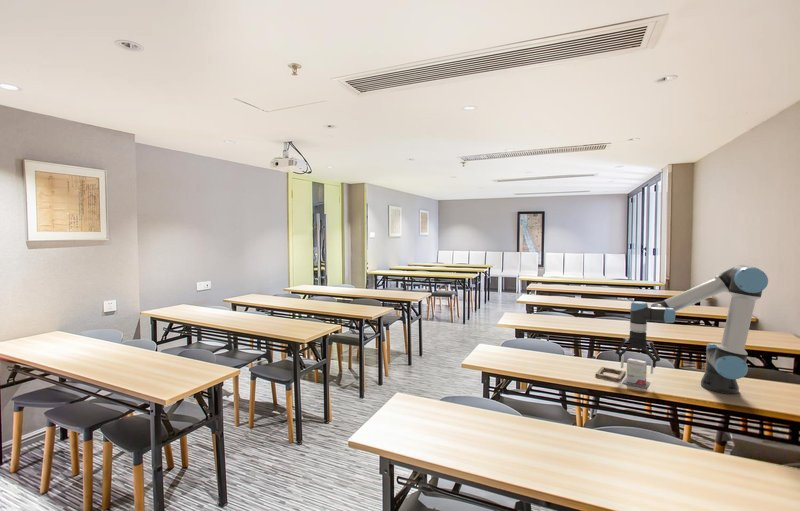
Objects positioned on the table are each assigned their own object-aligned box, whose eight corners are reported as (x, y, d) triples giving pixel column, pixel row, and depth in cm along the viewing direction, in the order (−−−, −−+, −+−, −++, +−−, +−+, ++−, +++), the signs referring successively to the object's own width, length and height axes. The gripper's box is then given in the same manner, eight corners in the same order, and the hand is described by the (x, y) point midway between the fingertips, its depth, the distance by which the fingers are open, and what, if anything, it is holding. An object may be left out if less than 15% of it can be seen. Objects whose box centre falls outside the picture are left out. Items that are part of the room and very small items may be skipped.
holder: (625, 374, 218) (625, 371, 218) (619, 382, 205) (619, 378, 205) (602, 369, 225) (602, 366, 225) (595, 376, 213) (595, 373, 213)
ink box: (646, 383, 203) (647, 361, 202) (644, 385, 199) (645, 363, 199) (628, 379, 209) (628, 357, 208) (626, 381, 205) (626, 359, 204)
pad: (649, 383, 205) (649, 381, 205) (646, 389, 196) (646, 387, 196) (626, 378, 212) (626, 377, 212) (622, 383, 203) (622, 382, 203)
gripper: (667, 333, 198) (665, 373, 198) (613, 326, 214) (611, 363, 215) (665, 336, 192) (664, 377, 193) (610, 328, 208) (608, 366, 209)
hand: (636, 370), depth 204 cm, fingers open, 13 cm apart
